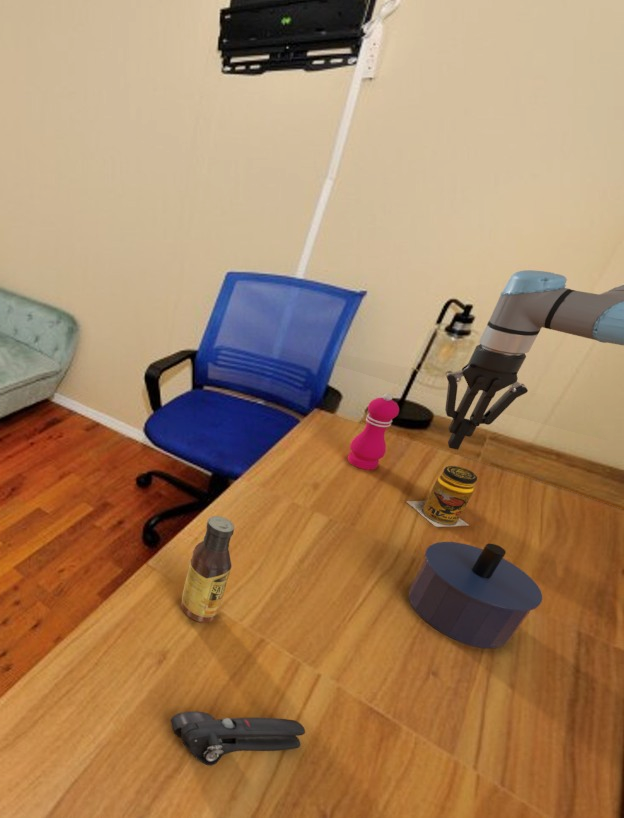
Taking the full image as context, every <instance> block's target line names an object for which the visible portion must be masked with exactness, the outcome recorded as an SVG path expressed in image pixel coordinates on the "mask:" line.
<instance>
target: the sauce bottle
mask: <svg viewBox="0 0 624 818" xmlns="http://www.w3.org/2000/svg"><path fill="white" fill-rule="evenodd" d="M234 531H235V525H234V523H233V522H232V521H231V520H230V519H228V518H227V517H224V516H221V515H214V516H210V517H208V519H207V522H206V532H205V535H204V537H203V540H201V541H200V542H199V543H197V545H195V546H194V549H193V551H192V555H191V559H190V561H189V566H188V570H187V572H186V576H185V582H184V586H183V589H182V590H183V591H182V594H181V603H180V604H181V609H182V611H183V613H184V614H185V616H187V617H188V618H189V619H191V620H192V621H195V622H197V623H203V624H204V623H205V624H206V623H209V622H212V621H214V620H215V619H216V617H217V615H218V613H219V611H220V608H221V606H222V605H221V603H222V601H223V598H224V594H225V590H226V587H227V584H228V580H229V577H230V575H231V574H230V573H231V571H232V559H231V555H230V549H229V548H230V541H231V538H232V537H233V535H234Z"/></svg>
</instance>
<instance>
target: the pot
mask: <svg viewBox="0 0 624 818" xmlns="http://www.w3.org/2000/svg"><path fill="white" fill-rule="evenodd" d="M407 594H408V601H409V603H410V605H411V607H412V609H413V610H414V612H415V613H416V614H417V615H418V616H419V617H420V618H421V619H422V620H423V621H424V622H426V623H427V624H428V625H429V626H431V627H432V628H433V629H435V630H436V631H438V632H439V633H441V634H443V635H444V636H446V637H448V638H450V639H451V640H455V641H457V642H459V643H462V644H464V645H468V646H470V647H475V648H478V649H479V648H480V649H499V648H502V647H504V646H506V645H507V643H508V642H510V640H511V639H513V636H514V635H515V633H516V632H517V631H518V630H519V628H520V627H521V625H522V624H523V622H524V621H525V619H526V618H527V616H528V615H529V614H530V613H531V611H532V610H530V611H522V612H518V611H508V610H503V609H498V608H495V607H491V606H488V605H486V604H483V603H480V602H478V601H475V600H473V599H471V598H469V597H467V596H465V595H463V594H461V593H459V592H458V591H456V590H455V589H453V588H451V587H450V586H449V585H447V584H446V583H444V582H443V581H442V580H441V579H440V578H439V577H437V576H436V575H435V574H434V572H433V571H432V570H431V569H430V567H429V566H428V564H427V562H426V559H425V558H424V560H423V562H422V563H421V566H420V567H419V569H418V571H417V573H416V575H415V577H414V579H413V581H412V583H411V584H410V587H409V590H408V593H407Z"/></svg>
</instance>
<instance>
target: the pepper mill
mask: <svg viewBox="0 0 624 818" xmlns="http://www.w3.org/2000/svg"><path fill="white" fill-rule="evenodd" d="M367 411H368V413H367V414H366V418H365V421H366V425H365V426H364V428H363V430H362V431H361V432H360V433H359V434H357V435H356V436H355V437H354V438H353V439H352V441H351V442H350V444H349V449H350V452H349V453H348V456H347V461H348V462H349V464H351V465H352V466H354V467H356V468H357V469H361V470H367V471H373V470H375V469H377V467H378V465H379V463H380V459H383V458H384V456H385V455H386V451H387V445H386V440H385V433H386V430H387V428H389V427H391V426H392V423H393V419H395V418H396V417H398V415H399V413H400V407H399V404H398V403H397V402H396V401H395V400H393V395H392V394H391V393H385V394H384V395H383V397H376V398H374V399H372V400H371V401H370V402H369V403H368V405H367Z"/></svg>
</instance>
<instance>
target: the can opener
mask: <svg viewBox="0 0 624 818" xmlns="http://www.w3.org/2000/svg"><path fill="white" fill-rule="evenodd" d="M170 724H171V729H172V730H173V734H174V735H175V736H176V737H178V738H180V739H181V741H182V744H183V745H184V747H185V749H187V751H189V752H190V754H191V755H192V756H193V757H194V758H195V759H197V760H198V761H199V762H200V763H202V764H203V765H206V766H214V765H216V764H217V763H218V762H219V761H220V760H221V759H222V757H223V756H224V755H227V754H230V753H235V752H245V751H246V752H249V751H250V752H277V751H279V752H280V751H289V750H294V749H298V748H299V747H301V741H300V738H299V737H298V736H303V735H305V734H306V729H305V726H303V724H301V723H300V722H299V721H297V720H295V719H286V718H278V717H277V718H276V717H230V718H229V717H227V718H219V719H216V718H214V716H213V715H211V714H210V713H207V712H203V711H184V712H178V713H176V714H173V716H171V717H170Z"/></svg>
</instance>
